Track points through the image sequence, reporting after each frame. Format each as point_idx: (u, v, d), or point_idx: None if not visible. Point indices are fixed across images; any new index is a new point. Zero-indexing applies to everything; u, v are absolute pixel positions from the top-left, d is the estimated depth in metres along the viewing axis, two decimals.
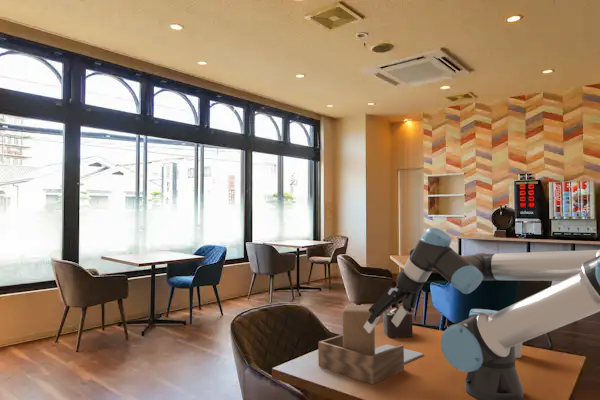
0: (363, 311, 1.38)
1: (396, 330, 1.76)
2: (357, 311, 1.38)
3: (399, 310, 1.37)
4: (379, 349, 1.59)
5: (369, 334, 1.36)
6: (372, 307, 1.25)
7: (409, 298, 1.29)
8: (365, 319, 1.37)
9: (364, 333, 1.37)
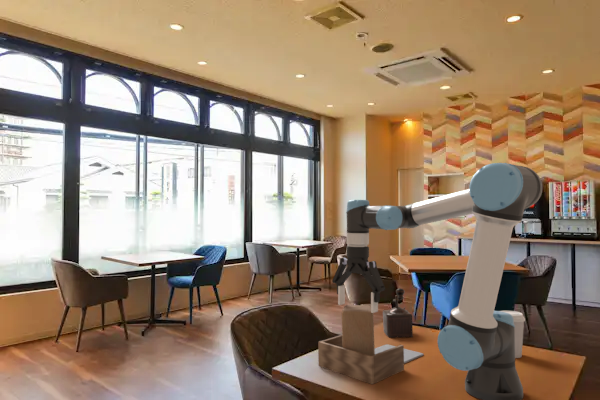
0: (362, 311, 1.38)
1: (396, 330, 1.76)
2: (356, 311, 1.38)
3: None
4: (379, 349, 1.59)
5: (368, 333, 1.37)
6: None
7: (360, 270, 1.40)
8: (364, 319, 1.37)
9: (363, 333, 1.37)
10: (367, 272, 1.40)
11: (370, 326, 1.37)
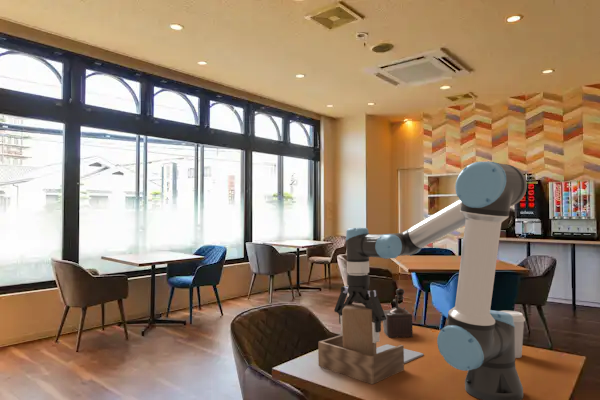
0: (362, 309, 1.38)
1: (396, 330, 1.76)
2: (356, 309, 1.38)
3: None
4: (379, 349, 1.59)
5: (368, 332, 1.36)
6: None
7: (361, 299, 1.39)
8: (364, 317, 1.37)
9: (363, 331, 1.37)
10: (368, 301, 1.40)
11: (370, 325, 1.36)
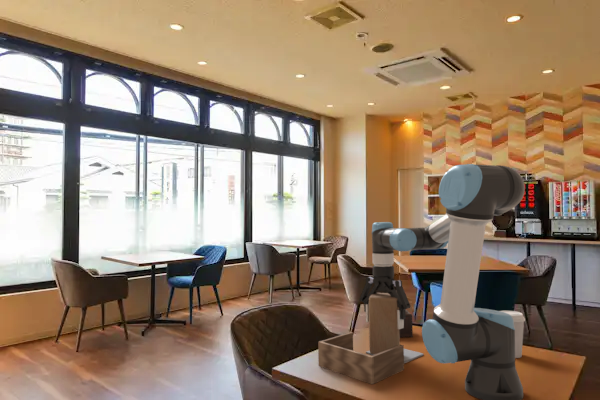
0: (388, 298, 1.47)
1: None
2: (382, 297, 1.48)
3: None
4: None
5: (394, 319, 1.46)
6: None
7: (386, 289, 1.49)
8: (390, 305, 1.47)
9: (389, 318, 1.46)
10: (393, 290, 1.49)
11: (395, 312, 1.46)
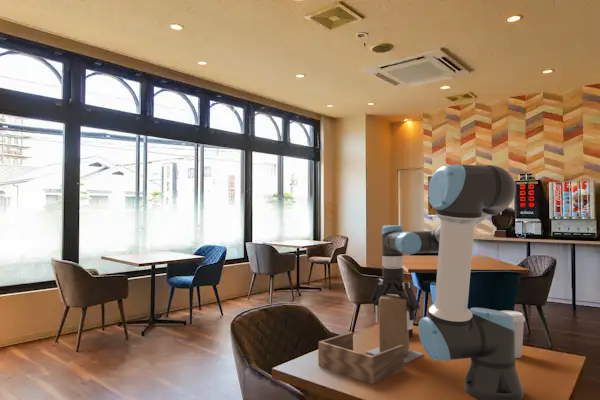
0: (398, 299, 1.51)
1: None
2: (392, 299, 1.52)
3: None
4: None
5: (403, 320, 1.50)
6: None
7: (396, 290, 1.53)
8: (399, 306, 1.50)
9: (399, 319, 1.50)
10: (402, 292, 1.53)
11: (405, 313, 1.50)
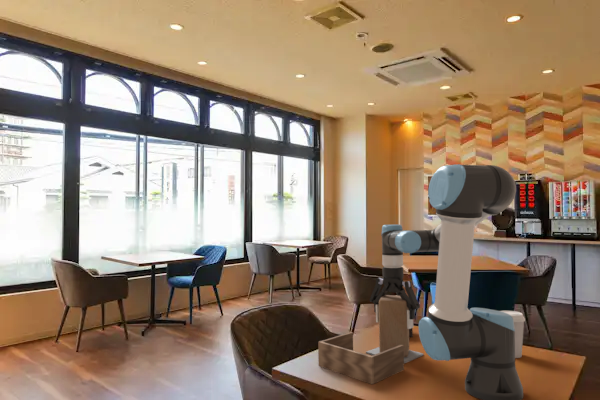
0: (398, 300, 1.51)
1: None
2: (392, 300, 1.52)
3: None
4: (379, 349, 1.59)
5: (403, 321, 1.50)
6: None
7: (396, 289, 1.53)
8: (399, 307, 1.50)
9: (399, 320, 1.50)
10: (402, 291, 1.53)
11: (405, 314, 1.50)
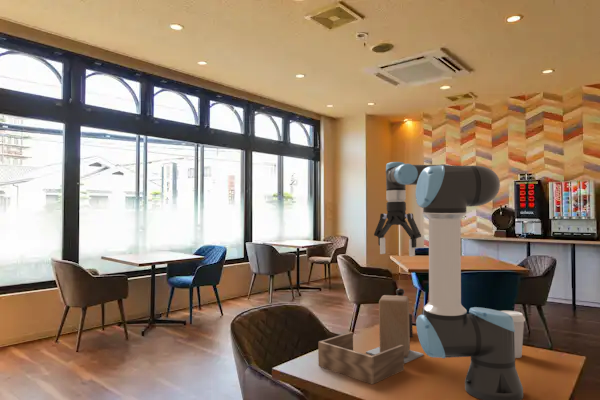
0: (398, 300, 1.51)
1: None
2: (392, 300, 1.51)
3: None
4: (379, 349, 1.59)
5: (403, 321, 1.50)
6: None
7: (399, 221, 1.66)
8: (399, 308, 1.50)
9: (399, 320, 1.50)
10: (405, 223, 1.66)
11: (405, 315, 1.50)
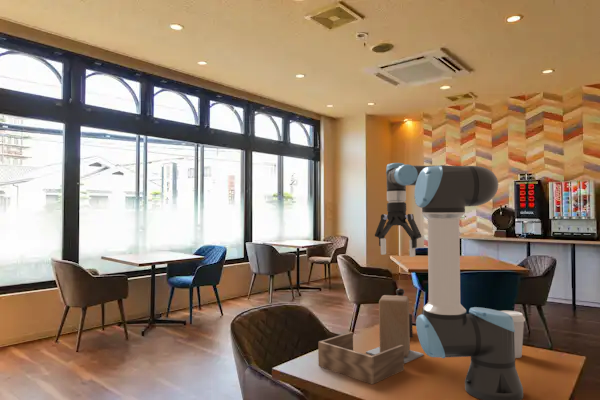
0: (398, 300, 1.51)
1: None
2: (392, 300, 1.51)
3: None
4: (379, 349, 1.59)
5: (403, 321, 1.50)
6: None
7: (399, 222, 1.67)
8: (399, 308, 1.50)
9: (399, 320, 1.50)
10: (405, 223, 1.67)
11: (405, 315, 1.50)
